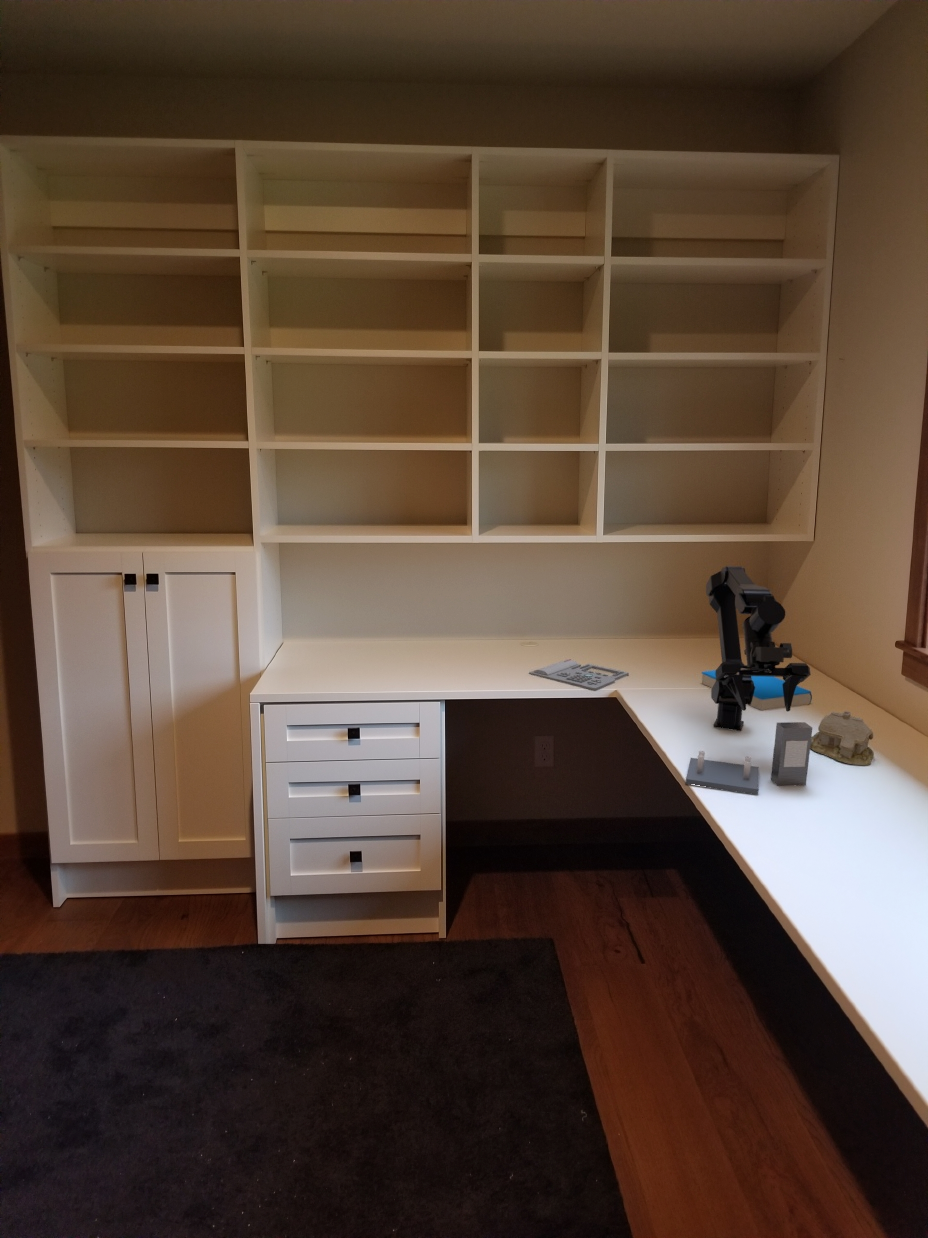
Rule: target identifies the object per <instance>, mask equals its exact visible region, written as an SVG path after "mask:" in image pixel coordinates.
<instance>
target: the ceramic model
mask: <svg viewBox="0 0 928 1238" xmlns="http://www.w3.org/2000/svg"><path fill="white" fill-rule="evenodd" d="M817 729H818V731H817V732H815V734H813V735H812V736H811V745H810V750H813V752H816V753H818V754H820V755H821V754H822V755H825V756H826V757H830V758H831V759H833V760H835V761H838V762H840V763H845V764H850V765H855V766H869V765H871V762H872V759H874V755H875V753H874V750H873V749H872V748H871V746H869V742H870V741H871V740H873V739H874V732H873V730H872V729H871V728H870V727H869V726H868V725H867V724H866V723H865V722H864V720H863V718H861V717H857V716H853V715H851V712H849V711H847V710H846V711H843V712H842V713H840V712H835V711H831V712H830V713H829V714H827V715H824V717H823V718H822V720H820V723H819V725H818V728H817Z"/></svg>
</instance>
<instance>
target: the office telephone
mask: <svg viewBox="0 0 928 1238" xmlns="http://www.w3.org/2000/svg"><path fill="white" fill-rule="evenodd" d="M581 665H582V664H580V663H578V662H577V661H575V660H574V659H564V660H562V661H561V660H560V661H558V662H555V663H552V664H550V665H547V666H543V667H540V668H538V669H534V670H532V671H529V673H528V674H529V675H532V676H535V677H539V678H543V679H547V680H551V681H555V682H559V683H562V684H566V685H569V686H570V685H571V686H574V687H579V688H582V689H584V690H589V691H593V692H597V691H599V690H601V689H603V688H606V687H608V686H611V685H613V684H615V683H616V681H618V680H622V678H625V677H629V676H630V672H629V671H624V670H621V669H616V668H611V667H605V666H601V665H598V664H592V663H587V664H585V665H582V666H581ZM592 669H594V670H595V669H596V670H598V671H602V672H603V671H604V672H607V673H612V675H608V674H605V673H603V674H602V673H600V672H594V671H591V670H592Z"/></svg>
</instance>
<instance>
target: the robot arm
mask: <svg viewBox="0 0 928 1238" xmlns="http://www.w3.org/2000/svg"><path fill="white" fill-rule="evenodd" d="M705 593H706V596H707V598H708V603H709V606H710V607H712V609H713V610H714V611H715V613H716V615H717V616H716V617H717V623H718V624H717V625H718V634H719V635H718V636H719V644H720V656H721V663H720V664H719V665H718V667H717V668H716V669H715V670H716V673H715V675H716V682H715V684H714V685H713V687H712V688H711V689H710V690H711V691H710V699H711V700H712V701H713V703H715V704H716V705H717V712H716V713H717V715H716V718H715V720H714V722H713V724H712V725H713V728H718V729H724V730H732V731H739V732H741V731H742V729H743V727H744V723H745V722H744V720H742V717H743V711H746V710H747V705H748V706H750V705H751V702H752V699H753V694H754V690H755V686H754V682H753V680H752V678H751V676H770V677H776V678H778V677H779V678H781V677H782V680H783V681H785V682H784V683H783V684H782V686H783V694H784V702H785V707H784V709H785V710H786V712H790V711H791V708H792V706H791V704H792V700H793V695H794V692H795V689H796V686H798V685H799V684H800V683H803V682H805V680H807V679H808V678H809V677H810V676H811V674H812V673H811V668H810V666H809V665H808V664H807V662H806V663H805V662H789V663H788V664H787V665H786V666H785V667H776V666H779V665H780V664H781V663H784V659H792V658H793V647H792V642H791V643H790V642H782V643H781V642H780V643H779V647H776V643H775V641H773V636H772V633H773V632H774V631H775V630H776V629H777V628H778V626H779V625H781V623H782V622H783V621H784V619H785V618H786V610H785V608H784V606H783V605H782V604H781V603H780V602H779V601H777V599H776V598H775V595H773V593H772V592H771V590H770V589H768V588H767V587H765V586H761V585H757V584H755V582H753V580H752V578H751V577H750V576H749V575H748V574H747V573H746V569H745V567H742V566H735V565H734V566H733V565H731V566H730V565H726V566H723V567H722V568H721V570H720V571H718V572H717V573H713V574H712V575H711V576H709V579H708V580H707V582H706V585H705ZM737 611H738V613H739V614H740V615H750V616H747V617H746V618H745V619H744V621H743V622H742V630H743V637H744V647H745V648H744V650H743V652H744V655H745V657H746V664H747V665H746V664H744V662H743V660H742V651H741V650H742V649H741V643H740V642H741V641H740V633H739V623H738V614H737Z"/></svg>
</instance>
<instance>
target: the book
mask: <svg viewBox="0 0 928 1238" xmlns="http://www.w3.org/2000/svg"><path fill="white" fill-rule="evenodd" d="M715 673H716V669H715V670H706V671H701V674H702V676H701V677H702V678H701V684H703V685H704V686H707V687H709V688H711V689H712V687H713V685H714V684H715V682H716V675H715ZM751 678H752V680H753V682H754V686H755V690H754V694H753V699H752V702H751V705H749V706H750V707H753V708H755V709H757V710H760V711H768V710H775V709H783V708H784V709H785V702H784V694H783V686H782V684H783V683H784V682H785V681H784V680H783V679H781V678H778V677H770V676H751ZM812 699H813V695H812V690H808V689H807V688H803V687H801V686H798V685H797V686H796V689H795V692H794V695H793V700H792V704H791V707H798V706H802V705H803V706H804V705H809V704H811V702H812Z"/></svg>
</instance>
